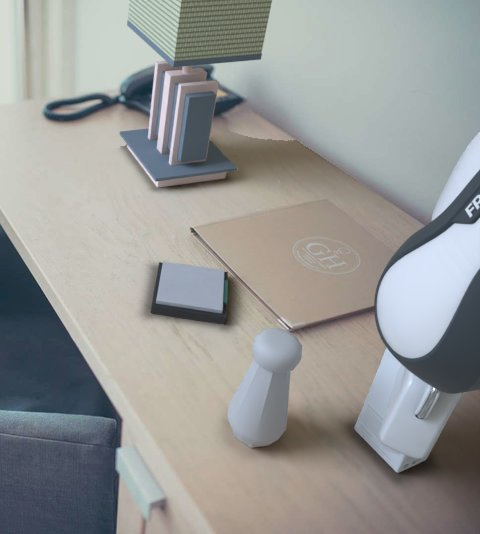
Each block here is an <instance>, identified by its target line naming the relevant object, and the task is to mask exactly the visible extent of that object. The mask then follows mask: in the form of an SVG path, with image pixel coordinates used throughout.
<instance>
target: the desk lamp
mask: <svg viewBox="0 0 480 534" xmlns="http://www.w3.org/2000/svg"><path fill="white" fill-rule="evenodd" d="M272 3H273V0H129V3H128V15H127V24H126V25H127V26H126V27H128V28H129V29H131V30H132V31H133V32H134V33H135V34H136V35H137V36H138V37H139V38H140V39H141V40H142V41H143V42H144V43H146V44H147V45H148V46H149V47H150V48H151V49H152V50H153V51H154V52H155V53H157V54H158V55H159V56H160V57H161V58H162V59H164V60H161V61H159V60H158V61H155V62H154V63H155V64H154V71H153V72H154V73H153V81H152V82H153V83H152V90H151V91H152V92H151V101H150V111H149V120H148V121H149V123H148V127H147V128H139V129H131V130H123V131H119V136H120V137H121V139H122V140H123V141H124V142H125V144H126V148H127V149H128V150H129V151H130V153H131V154H132V156H133V157H134V159H135V160H136V161H137V162H138V164H139V165H140V167H141V168H142V169H143V171H144V172H145V173H146V174H147V176H148V177H149V178H150V180H151V181H152V182H153V184H154V185H155V187H156V188H158V189H159V188H166V187H173V186H178V185H179V186H180V185H188V184H193V183H201V182H209V181H210V182H211V181H216V180H224V179H226V175H227V173H229V172H237V171H238V167H237V166H236V165H235V164H234V162H233V161H231V159H229V157H228V156H227V155H225V153H224V152H222V150H221V149H220V148H219V147H218V146H217V145H216V144H215V143H214V142H213V141H212V140H211V134H212V127H213V121H214V115H215V109H216V103H217V96H218V92H219V84H220V82H219V81H218V80H216V79H214V80H207V78H208V72H207V71H206V70H205V69H204V68H202V67H195V68H193V67H194V66H202V65H204V66H205V65H214V64H215V65H216V64H225V63H237V62H238V63H239V62H248V61H259V60H262V56H263V53H262V52H263V47H264V43H265V37H266V32H267V27H268V23H269V19H270V13H271V8H272Z"/></svg>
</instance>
